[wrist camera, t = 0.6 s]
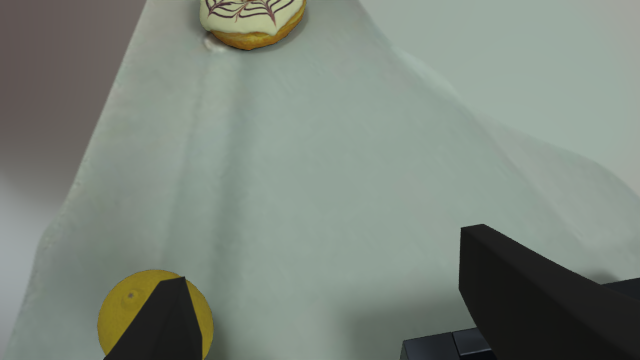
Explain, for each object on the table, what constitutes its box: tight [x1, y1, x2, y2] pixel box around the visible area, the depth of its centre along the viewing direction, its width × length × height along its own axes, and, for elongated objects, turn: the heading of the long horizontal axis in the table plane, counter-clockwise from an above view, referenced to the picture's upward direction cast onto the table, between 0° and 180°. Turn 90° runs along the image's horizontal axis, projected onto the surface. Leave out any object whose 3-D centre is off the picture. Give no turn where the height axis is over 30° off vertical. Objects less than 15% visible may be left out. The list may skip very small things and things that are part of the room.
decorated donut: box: [200, 0, 306, 50], centre depth 48 cm, size 10×11×4 cm
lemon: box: [97, 270, 214, 360], centre depth 26 cm, size 6×6×8 cm
